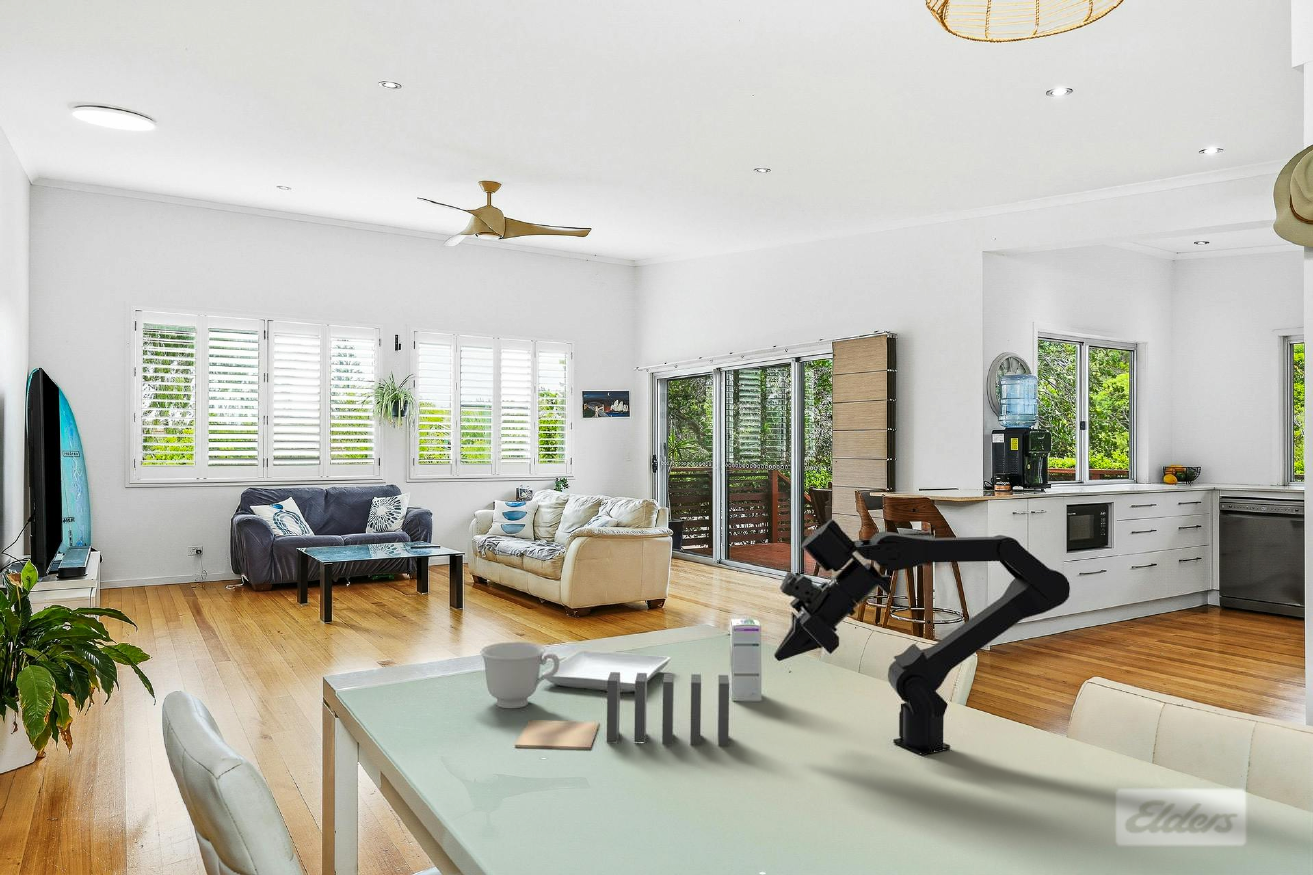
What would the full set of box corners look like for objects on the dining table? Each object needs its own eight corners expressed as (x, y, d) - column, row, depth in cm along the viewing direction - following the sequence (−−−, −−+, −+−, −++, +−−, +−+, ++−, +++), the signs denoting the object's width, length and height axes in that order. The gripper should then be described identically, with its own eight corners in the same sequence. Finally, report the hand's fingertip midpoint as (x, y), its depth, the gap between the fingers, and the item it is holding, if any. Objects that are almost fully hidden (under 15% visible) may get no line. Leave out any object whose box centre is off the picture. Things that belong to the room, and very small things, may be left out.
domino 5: (727, 735, 140) (728, 675, 141) (728, 745, 136) (729, 683, 136) (717, 735, 141) (718, 674, 141) (718, 745, 136) (719, 683, 136)
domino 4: (700, 734, 141) (700, 674, 141) (700, 745, 136) (701, 682, 136) (690, 734, 141) (691, 674, 141) (690, 744, 136) (691, 682, 136)
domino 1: (619, 732, 141) (620, 672, 141) (616, 742, 136) (617, 680, 136) (609, 731, 141) (610, 672, 142) (606, 742, 136) (607, 680, 137)
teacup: (547, 717, 148) (548, 660, 148) (468, 711, 151) (469, 655, 151) (568, 697, 160) (569, 644, 160) (494, 692, 163) (495, 640, 163)
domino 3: (673, 733, 141) (673, 673, 141) (672, 744, 136) (672, 682, 136) (663, 733, 141) (664, 673, 141) (662, 744, 136) (663, 681, 136)
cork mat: (599, 724, 145) (599, 722, 145) (590, 749, 133) (590, 746, 133) (530, 722, 146) (530, 719, 146) (514, 747, 134) (515, 744, 134)
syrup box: (762, 701, 159) (763, 624, 159) (730, 701, 159) (731, 624, 159) (759, 693, 165) (760, 618, 165) (728, 692, 165) (729, 618, 165)
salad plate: (539, 689, 166) (539, 672, 166) (579, 663, 187) (579, 648, 187) (641, 700, 160) (641, 682, 160) (672, 672, 180) (672, 656, 181)
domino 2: (646, 733, 141) (646, 673, 141) (644, 743, 136) (645, 681, 136) (636, 732, 141) (637, 672, 141) (634, 743, 136) (635, 681, 136)
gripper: (803, 549, 147) (738, 611, 147) (818, 564, 128) (744, 635, 129) (848, 595, 146) (783, 657, 147) (870, 617, 128) (796, 688, 128)
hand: (776, 658), depth 138 cm, fingers closed
